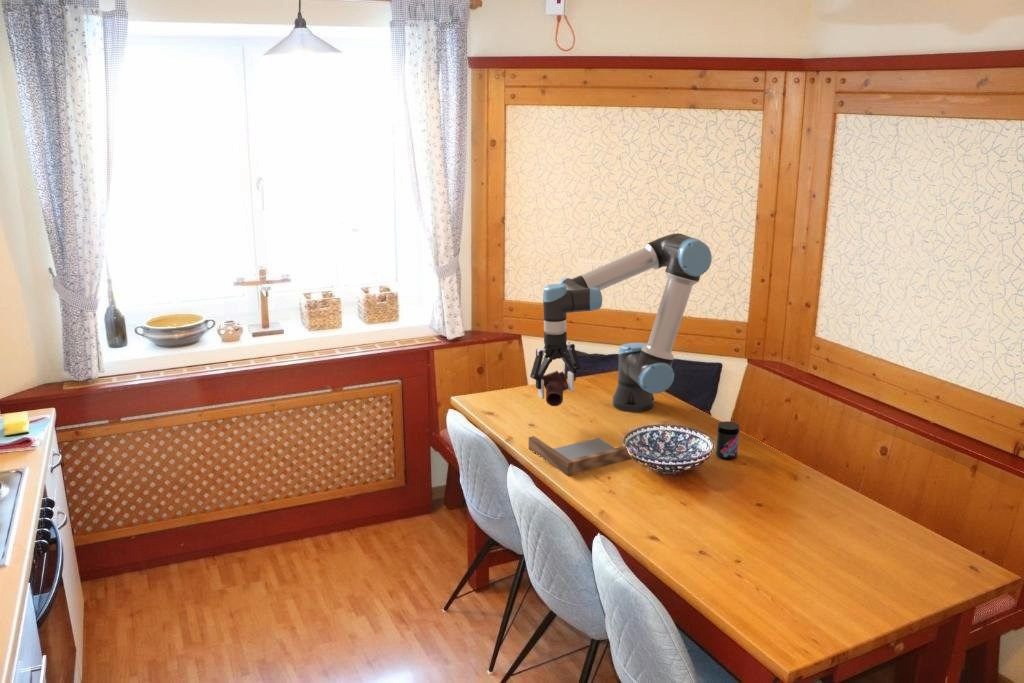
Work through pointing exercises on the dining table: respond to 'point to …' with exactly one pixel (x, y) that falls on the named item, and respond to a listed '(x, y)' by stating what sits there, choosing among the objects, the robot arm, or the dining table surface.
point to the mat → (584, 448)
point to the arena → (580, 462)
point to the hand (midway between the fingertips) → (556, 394)
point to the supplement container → (727, 440)
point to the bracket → (555, 387)
